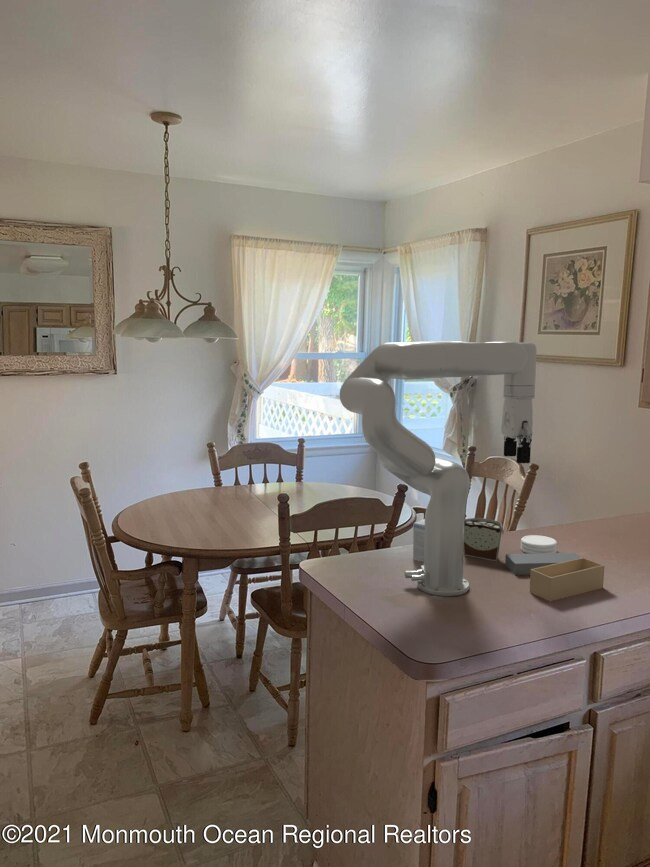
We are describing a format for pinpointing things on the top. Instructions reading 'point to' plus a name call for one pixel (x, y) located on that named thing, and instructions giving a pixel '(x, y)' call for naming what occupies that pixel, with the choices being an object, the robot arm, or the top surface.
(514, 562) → the lid
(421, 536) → the light bulb box
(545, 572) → the tan open box
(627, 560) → the top surface
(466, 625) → the top surface
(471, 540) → the food container
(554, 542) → the white short cylinder
